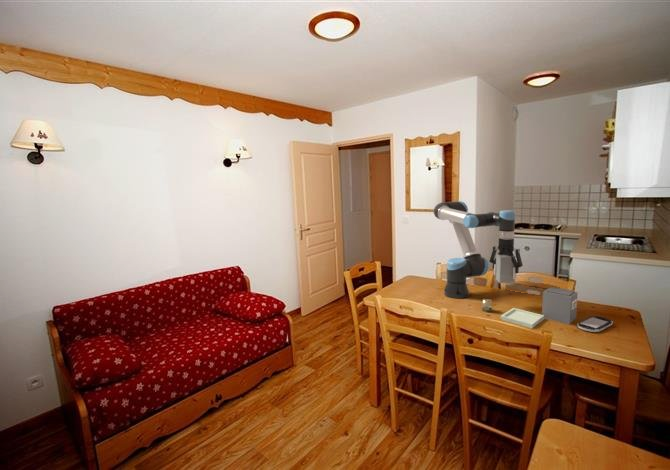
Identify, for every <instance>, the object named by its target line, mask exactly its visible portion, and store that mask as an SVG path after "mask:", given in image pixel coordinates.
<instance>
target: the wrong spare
mask: <svg viewBox="0 0 670 470" xmlns="http://www.w3.org/2000/svg"><path fill="white" fill-rule="evenodd" d="M481 311H482V312H484V313H492V311H493V300H492V299H489V298H482V299H481Z"/></svg>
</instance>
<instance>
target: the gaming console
mask: <svg viewBox="0 0 670 470" xmlns="http://www.w3.org/2000/svg"><path fill="white" fill-rule="evenodd" d="M613 323H614V322H613V321H612V320H611V319H609V318H606V317H603V316H597V315H595V316H589V317H588V318H585V319H583V320H581V321H578V322H577V324H576V327H577V328H578V329H579V330H581V331H584V332H587V333H590V332H591V333H592V334H597V333H596V332H598V333H600V332H602V331H604V330H605V329H607V328H609V327H611V326H612V325H613Z"/></svg>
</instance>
